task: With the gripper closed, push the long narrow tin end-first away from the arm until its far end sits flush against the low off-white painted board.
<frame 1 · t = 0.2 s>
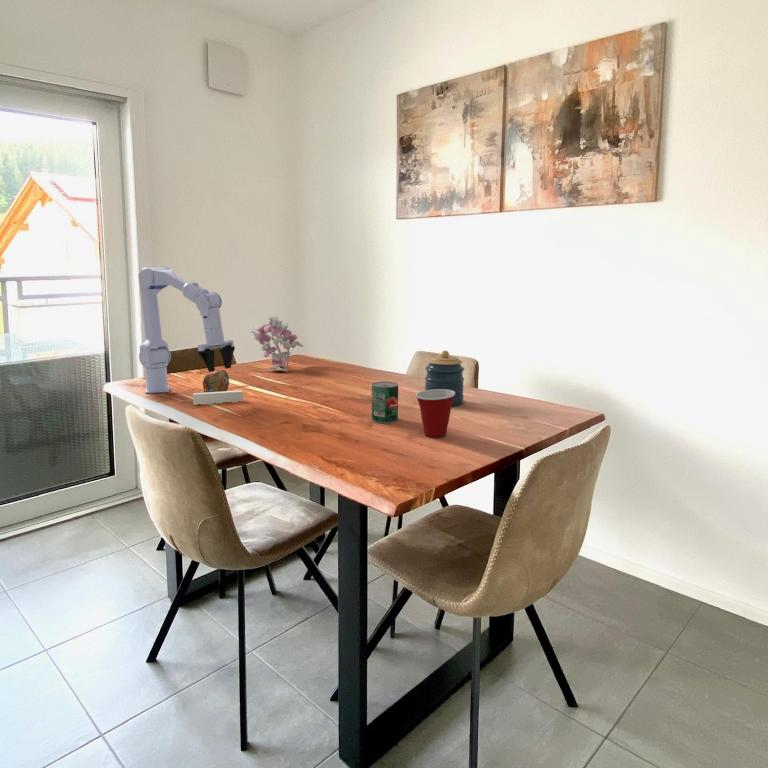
hand: (220, 369, 204), 11 cm above the table, tool pointing down, fingers open, 7 cm apart
canister: (443, 403, 204), on the table
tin: (216, 395, 214), on the table
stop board: (218, 402, 203), on the table
flower: (277, 369, 266), on the table
canned tomato: (384, 420, 182), on the table
plastic cup: (434, 435, 166), on the table
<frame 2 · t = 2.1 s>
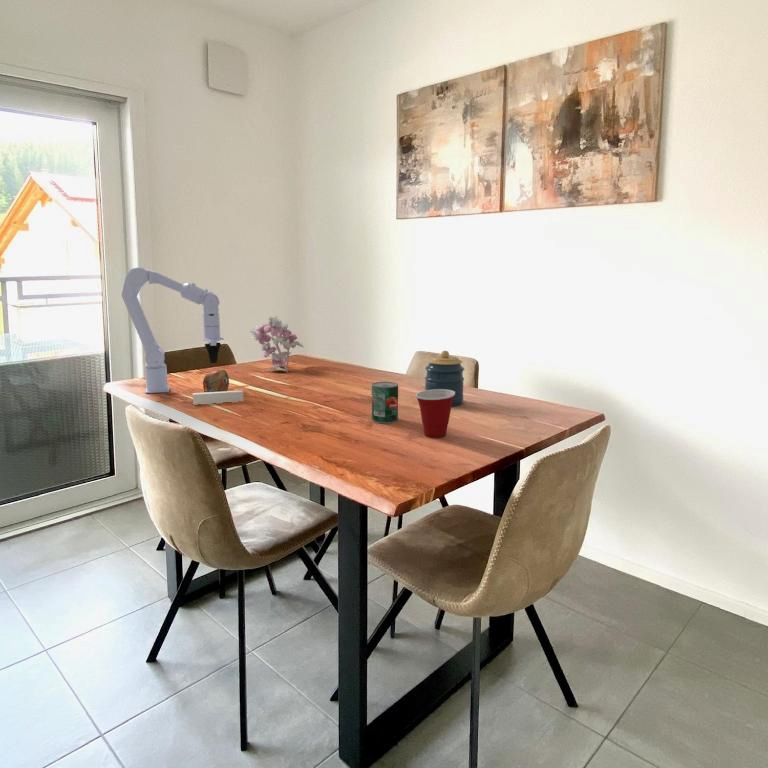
hand: (213, 362, 225), 9 cm above the table, tool pointing down, fingers closed
nothing on the table moved.
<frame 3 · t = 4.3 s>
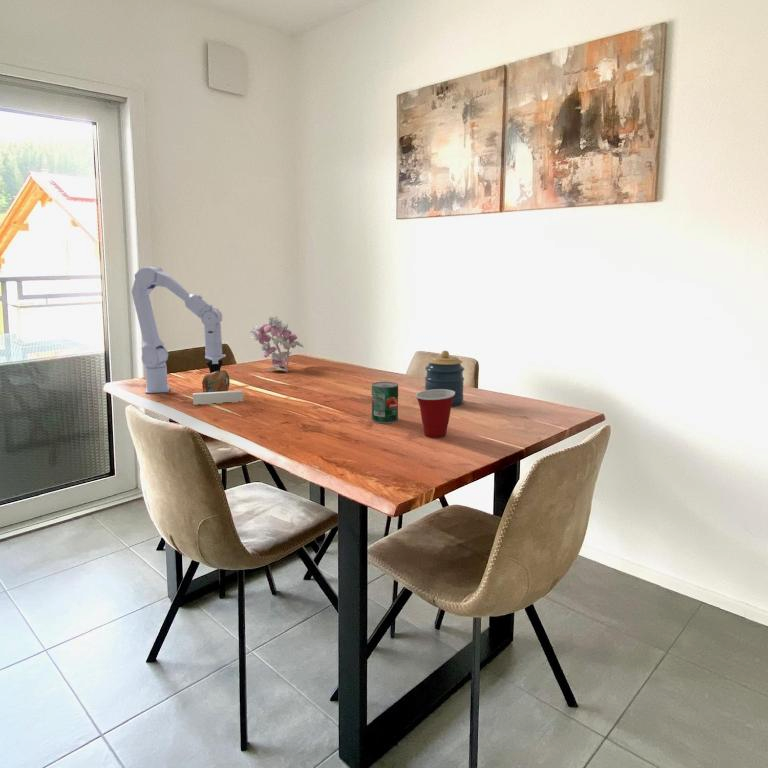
hand: (215, 380, 219), 4 cm above the table, tool pointing down, fingers closed
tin: (216, 396, 213), on the table, touching gripper
everything else where it was.
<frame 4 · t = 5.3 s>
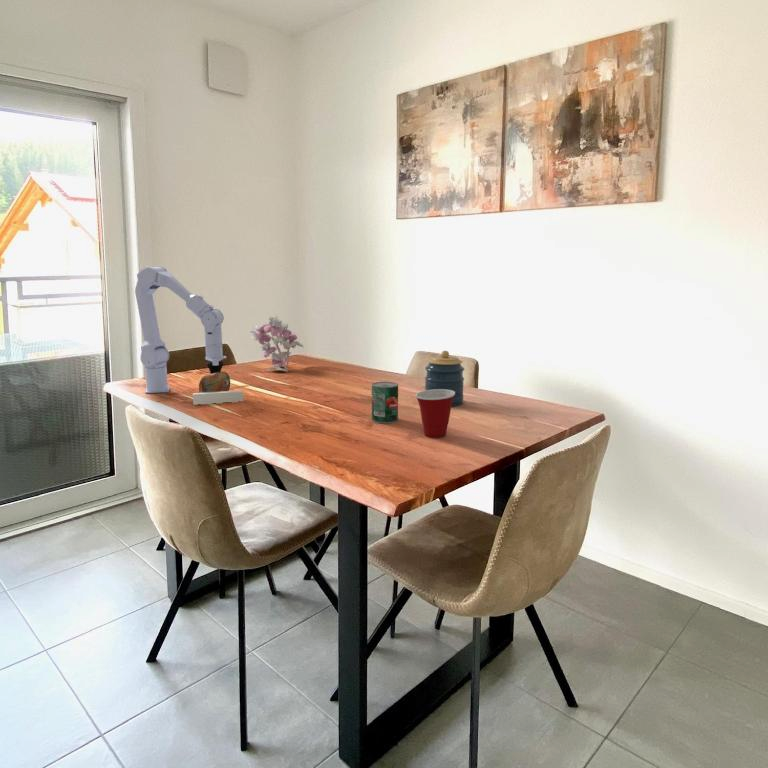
hand: (215, 382, 216), 4 cm above the table, tool pointing down, fingers closed
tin: (214, 397, 210), on the table, touching gripper
everything else where it was.
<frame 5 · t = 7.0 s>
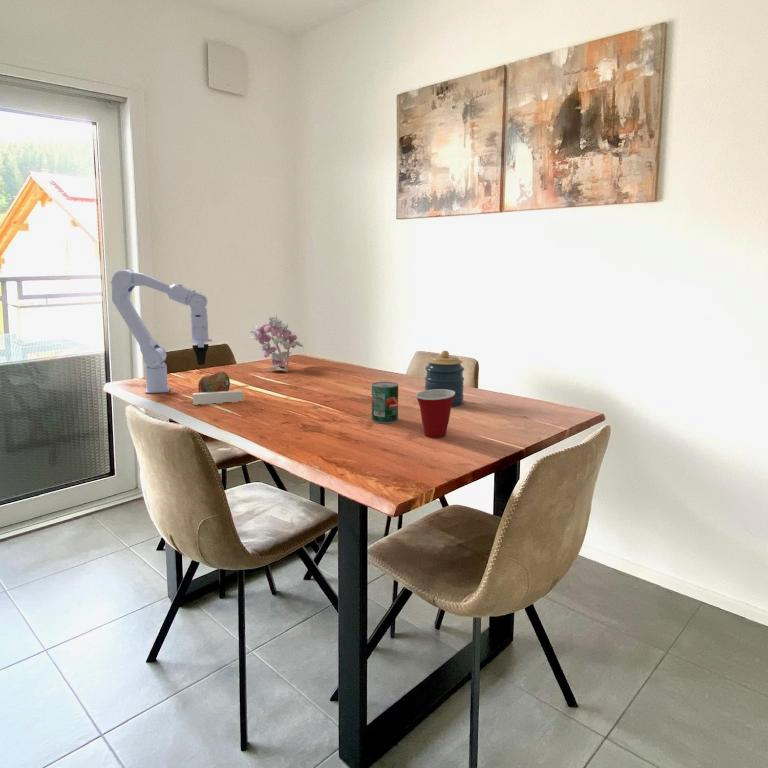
hand: (201, 364, 221), 9 cm above the table, tool pointing down, fingers closed
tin: (214, 398, 210), on the table
everything else where it was.
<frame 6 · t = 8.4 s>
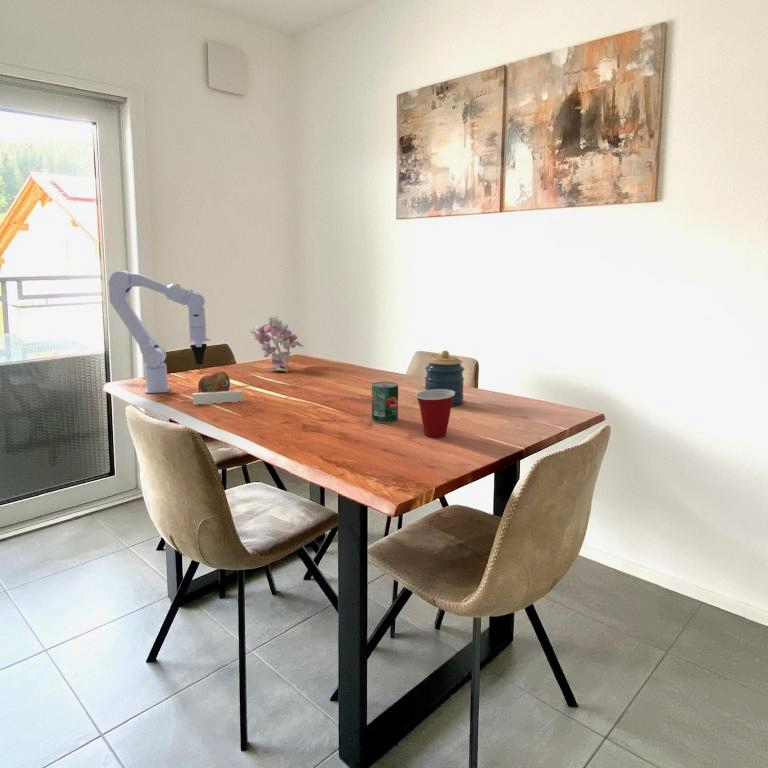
hand: (199, 364, 221), 9 cm above the table, tool pointing down, fingers closed
nothing on the table moved.
at the end: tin 0.8 cm from the target spot on the table beside the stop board, on the table; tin tilted 0° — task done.
